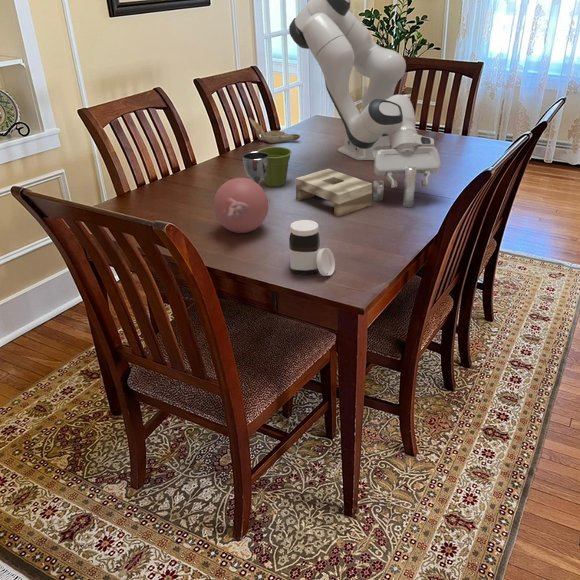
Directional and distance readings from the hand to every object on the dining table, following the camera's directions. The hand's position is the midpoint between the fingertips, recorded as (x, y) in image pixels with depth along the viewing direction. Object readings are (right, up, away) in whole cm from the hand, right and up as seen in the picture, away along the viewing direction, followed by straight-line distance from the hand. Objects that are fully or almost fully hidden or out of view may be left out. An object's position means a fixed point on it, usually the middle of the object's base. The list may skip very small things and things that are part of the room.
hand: (409, 186), depth 180 cm
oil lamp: (-43, +31, +69) cm, 87 cm away
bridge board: (-23, -4, +8) cm, 24 cm away
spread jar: (-31, -27, -31) cm, 51 cm away
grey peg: (0, -5, +4) cm, 7 cm away
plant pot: (-41, +5, +24) cm, 48 cm away
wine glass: (-47, -3, +10) cm, 48 cm away
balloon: (-51, -16, -11) cm, 54 cm away
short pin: (-8, -3, +9) cm, 13 cm away
